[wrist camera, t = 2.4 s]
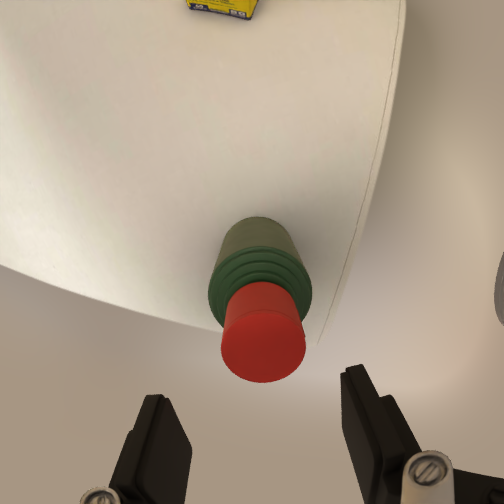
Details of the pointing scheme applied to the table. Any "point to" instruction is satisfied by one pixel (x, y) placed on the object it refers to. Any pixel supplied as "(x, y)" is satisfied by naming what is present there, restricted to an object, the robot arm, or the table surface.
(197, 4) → the supplement box
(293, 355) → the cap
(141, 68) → the table surface
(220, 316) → the bottle
